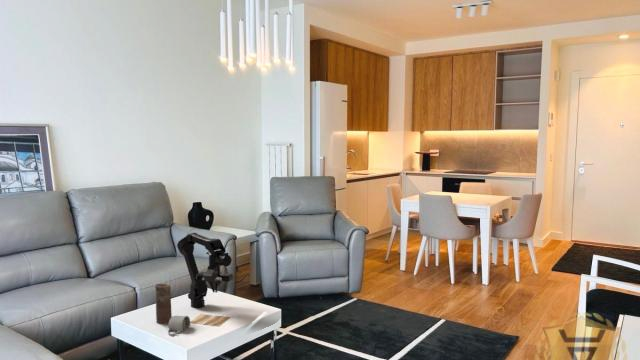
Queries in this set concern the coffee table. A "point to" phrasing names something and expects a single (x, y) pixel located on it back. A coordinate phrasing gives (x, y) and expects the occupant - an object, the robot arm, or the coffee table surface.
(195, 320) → the plank
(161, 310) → the candle
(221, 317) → the floor board
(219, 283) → the robot arm
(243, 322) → the coffee table surface
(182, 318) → the ceramic mug
